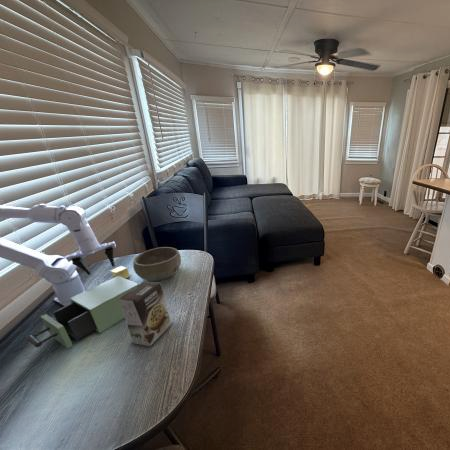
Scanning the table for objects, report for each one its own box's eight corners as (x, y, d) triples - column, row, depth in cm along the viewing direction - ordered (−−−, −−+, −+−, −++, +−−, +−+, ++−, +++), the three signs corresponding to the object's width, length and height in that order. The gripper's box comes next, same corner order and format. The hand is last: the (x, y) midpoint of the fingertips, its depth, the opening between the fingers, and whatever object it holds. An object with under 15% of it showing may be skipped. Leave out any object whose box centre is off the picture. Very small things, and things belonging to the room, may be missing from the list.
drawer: (46, 361, 65) (34, 341, 62) (28, 346, 70) (17, 327, 67) (118, 317, 80) (111, 300, 77) (99, 308, 85) (93, 290, 82)
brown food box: (151, 346, 70) (136, 301, 64) (132, 343, 71) (116, 299, 65) (172, 324, 78) (161, 282, 72) (155, 321, 79) (143, 280, 74)
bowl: (190, 273, 107) (185, 253, 103) (146, 292, 94) (139, 270, 91) (173, 261, 117) (169, 242, 114) (132, 276, 105) (125, 256, 101)
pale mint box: (99, 333, 75) (90, 309, 72) (79, 320, 80) (69, 298, 77) (145, 304, 87) (138, 283, 84) (125, 295, 92) (118, 275, 89)
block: (113, 279, 103) (110, 270, 102) (124, 274, 107) (121, 265, 105) (119, 281, 101) (116, 272, 100) (129, 276, 105) (127, 267, 104)
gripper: (56, 249, 81) (76, 282, 86) (108, 235, 88) (123, 266, 93) (61, 242, 86) (79, 273, 92) (109, 229, 93) (123, 259, 99)
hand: (102, 269), depth 93 cm, fingers open, 7 cm apart
